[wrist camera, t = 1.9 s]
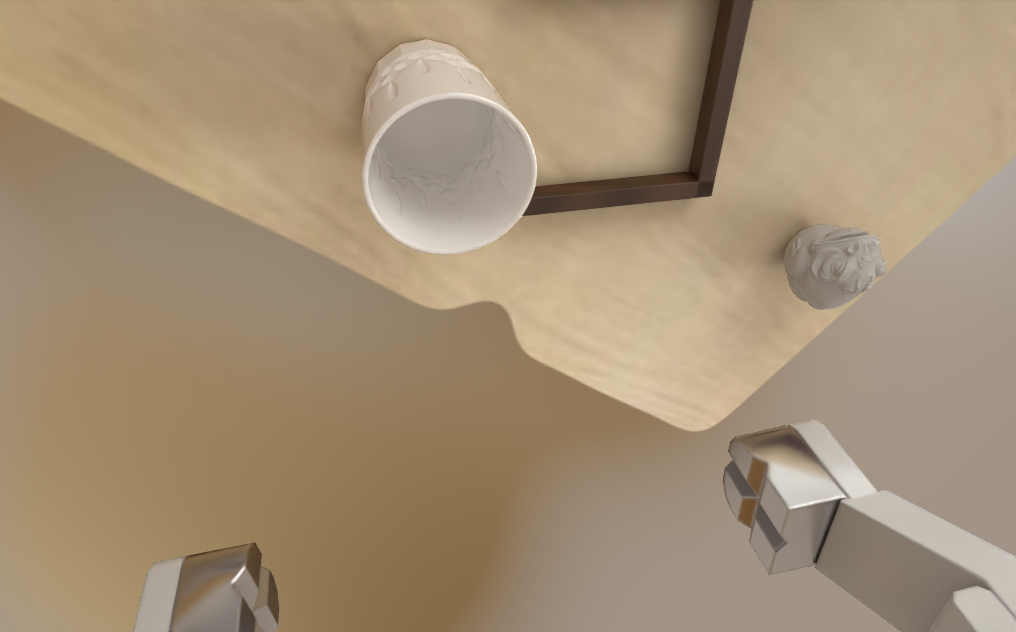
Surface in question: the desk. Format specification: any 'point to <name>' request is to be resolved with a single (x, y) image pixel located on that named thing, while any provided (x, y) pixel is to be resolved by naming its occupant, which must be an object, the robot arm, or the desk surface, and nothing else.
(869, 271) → the sculpted head
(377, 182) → the white cup
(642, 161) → the desk surface
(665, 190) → the dock
